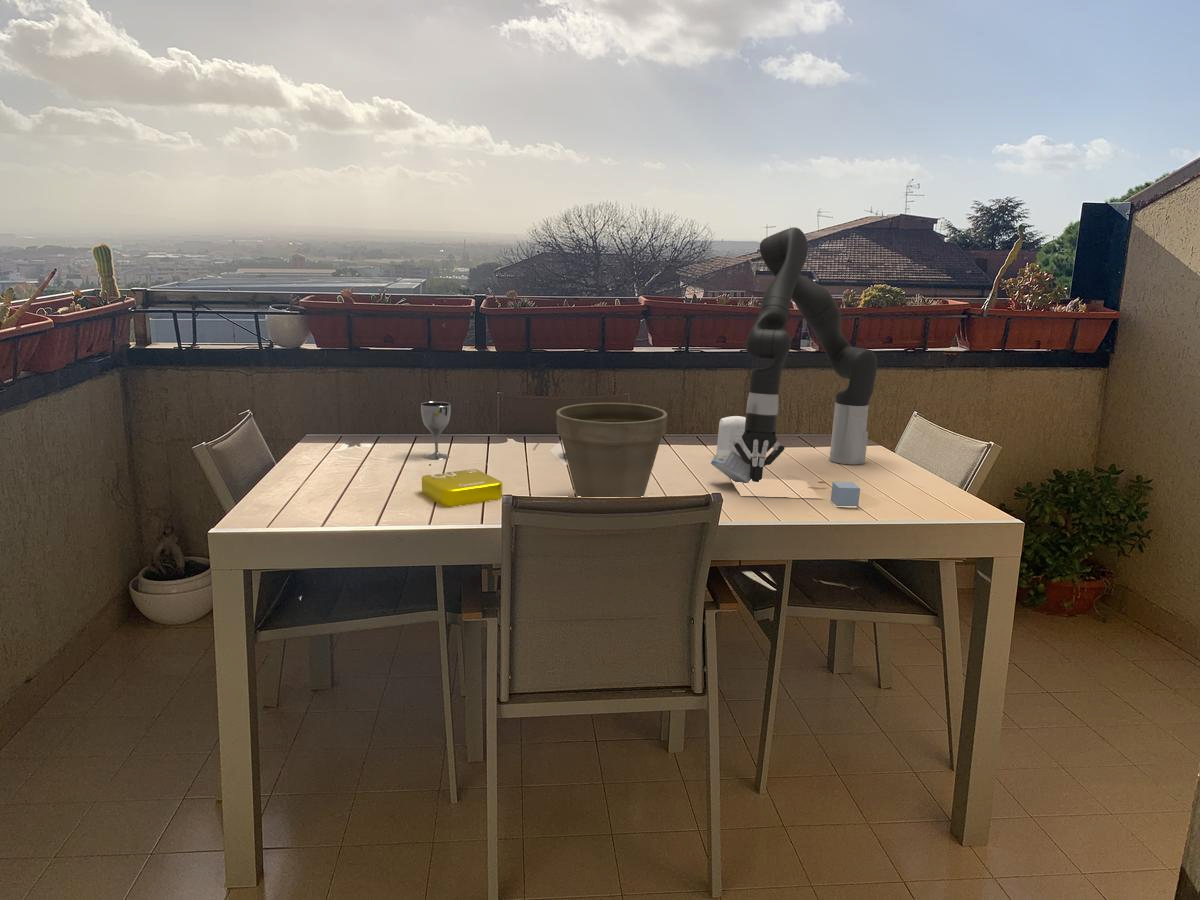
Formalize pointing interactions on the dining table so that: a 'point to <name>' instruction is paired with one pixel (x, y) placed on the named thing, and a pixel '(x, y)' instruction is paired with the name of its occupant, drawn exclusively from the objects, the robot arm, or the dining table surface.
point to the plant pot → (610, 446)
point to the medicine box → (732, 465)
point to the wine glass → (436, 423)
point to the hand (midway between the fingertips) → (755, 481)
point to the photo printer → (731, 433)
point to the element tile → (461, 487)
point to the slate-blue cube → (845, 494)
